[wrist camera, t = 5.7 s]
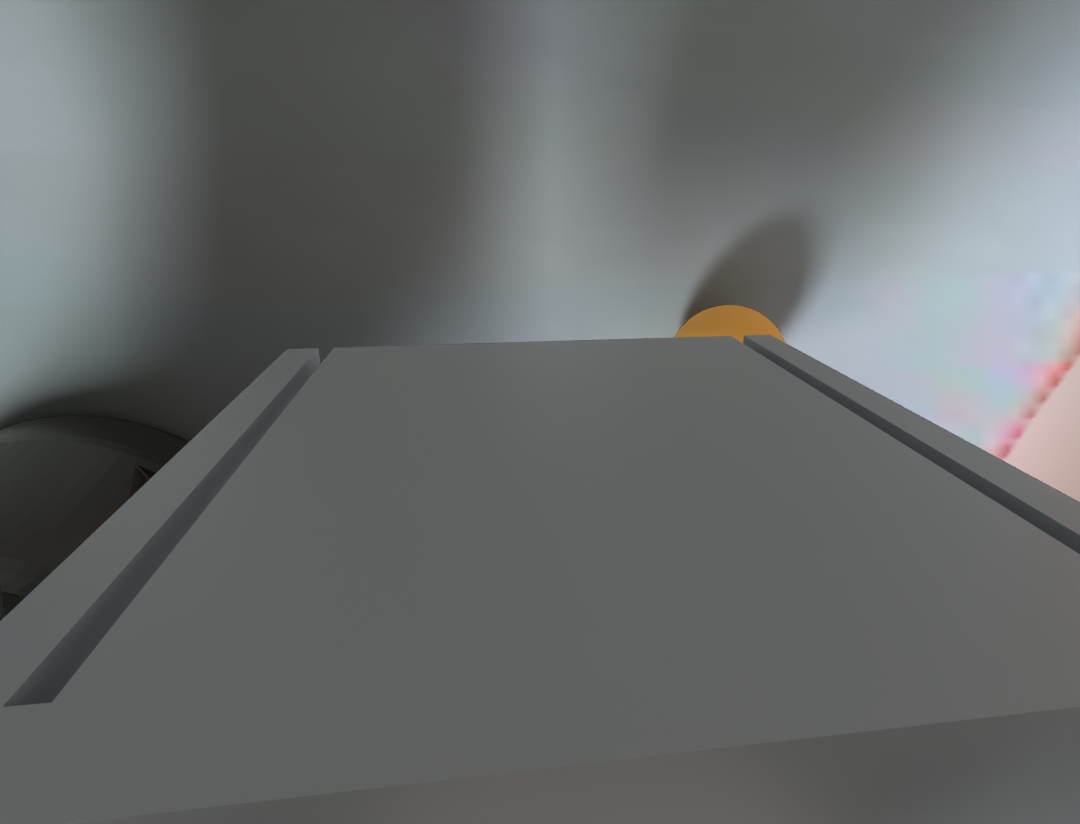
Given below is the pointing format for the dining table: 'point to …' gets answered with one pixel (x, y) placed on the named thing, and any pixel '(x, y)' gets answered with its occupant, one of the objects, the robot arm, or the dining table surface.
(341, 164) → the dining table surface
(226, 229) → the dining table surface
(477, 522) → the grey rectangular prism
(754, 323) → the ball
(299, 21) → the dining table surface
